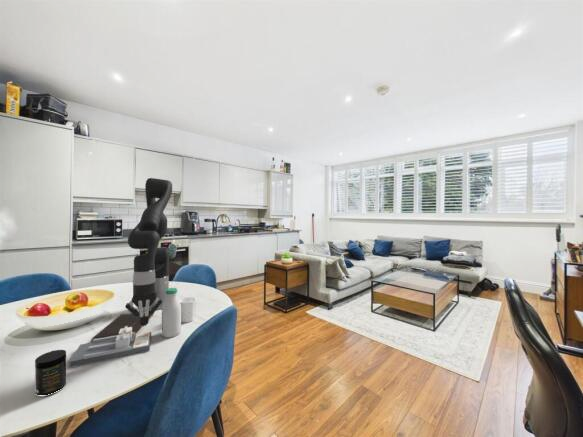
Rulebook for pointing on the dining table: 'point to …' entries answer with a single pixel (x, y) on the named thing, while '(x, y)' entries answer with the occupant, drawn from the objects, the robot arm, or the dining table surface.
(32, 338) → the dining table surface
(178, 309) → the milk bottle
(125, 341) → the white block with rib
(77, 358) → the switch panel
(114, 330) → the hardcover book
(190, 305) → the white cup
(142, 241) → the robot arm
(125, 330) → the cream tab
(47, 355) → the supplement container
